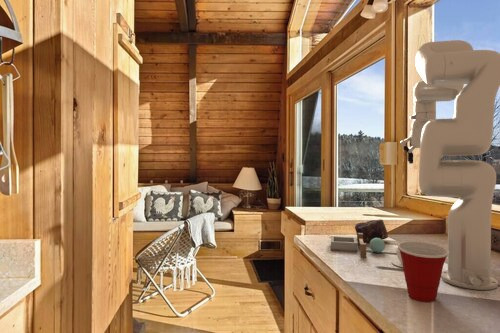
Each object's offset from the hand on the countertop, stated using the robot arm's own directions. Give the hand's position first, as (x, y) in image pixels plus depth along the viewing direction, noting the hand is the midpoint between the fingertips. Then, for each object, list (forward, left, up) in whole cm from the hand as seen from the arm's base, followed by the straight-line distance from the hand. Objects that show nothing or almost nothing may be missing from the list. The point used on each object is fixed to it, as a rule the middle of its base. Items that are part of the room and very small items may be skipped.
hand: (424, 163), depth 135 cm
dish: (-15, +30, -30) cm, 45 cm away
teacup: (-31, +11, -31) cm, 45 cm away
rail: (-18, +24, -30) cm, 43 cm away
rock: (-3, +19, -31) cm, 36 cm away
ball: (-19, +19, -30) cm, 40 cm away
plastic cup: (-58, +13, -30) cm, 67 cm away
